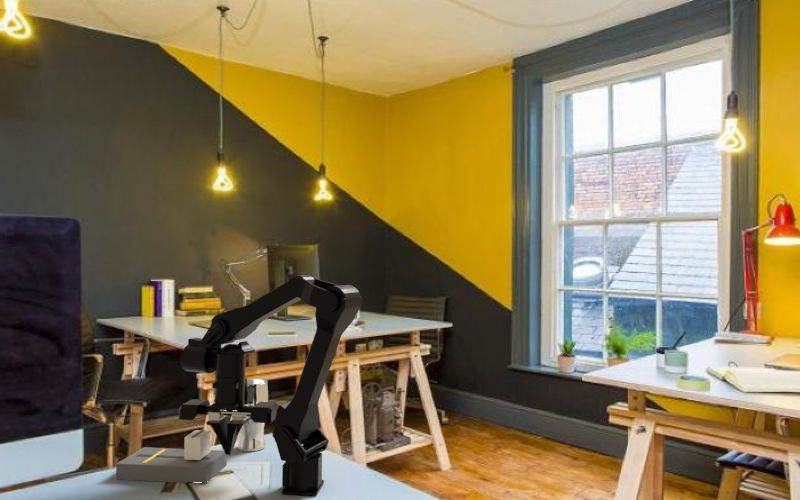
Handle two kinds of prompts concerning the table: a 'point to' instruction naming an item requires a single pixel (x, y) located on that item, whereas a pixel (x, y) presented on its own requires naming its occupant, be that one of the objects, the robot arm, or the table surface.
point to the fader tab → (197, 445)
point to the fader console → (169, 466)
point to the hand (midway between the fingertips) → (228, 454)
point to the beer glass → (252, 431)
